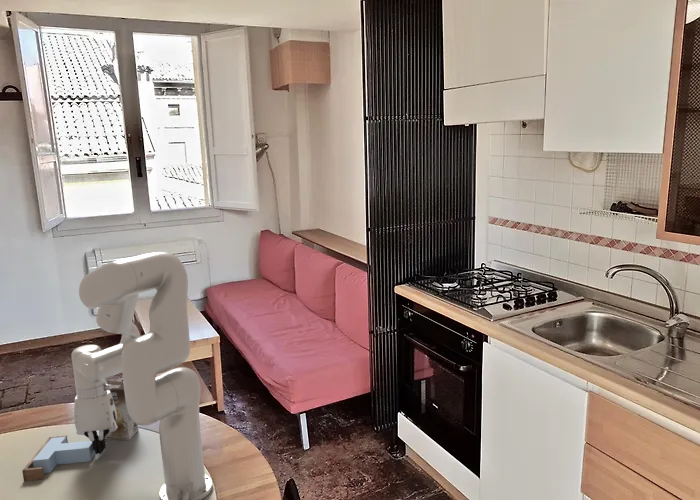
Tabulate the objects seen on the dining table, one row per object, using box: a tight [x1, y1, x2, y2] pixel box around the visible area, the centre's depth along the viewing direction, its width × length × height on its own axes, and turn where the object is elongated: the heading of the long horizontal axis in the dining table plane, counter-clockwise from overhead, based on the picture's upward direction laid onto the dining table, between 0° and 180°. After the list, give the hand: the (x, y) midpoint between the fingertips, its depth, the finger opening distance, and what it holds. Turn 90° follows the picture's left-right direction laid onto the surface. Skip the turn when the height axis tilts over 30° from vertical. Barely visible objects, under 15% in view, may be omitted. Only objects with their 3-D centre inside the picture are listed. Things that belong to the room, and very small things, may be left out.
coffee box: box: [105, 380, 140, 441], centre depth 167 cm, size 9×6×16 cm
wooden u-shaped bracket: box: [21, 435, 69, 482], centre depth 154 cm, size 18×5×3 cm, turn 7°
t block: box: [33, 436, 96, 474], centre depth 155 cm, size 12×13×4 cm
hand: (100, 451), depth 156 cm, fingers closed
